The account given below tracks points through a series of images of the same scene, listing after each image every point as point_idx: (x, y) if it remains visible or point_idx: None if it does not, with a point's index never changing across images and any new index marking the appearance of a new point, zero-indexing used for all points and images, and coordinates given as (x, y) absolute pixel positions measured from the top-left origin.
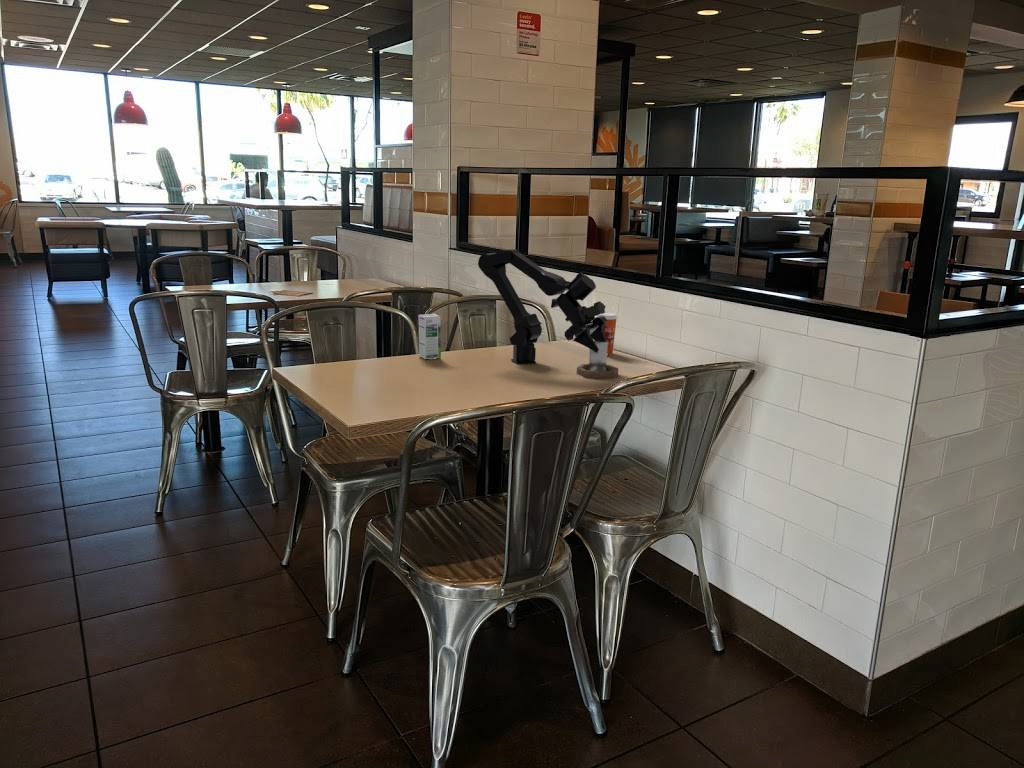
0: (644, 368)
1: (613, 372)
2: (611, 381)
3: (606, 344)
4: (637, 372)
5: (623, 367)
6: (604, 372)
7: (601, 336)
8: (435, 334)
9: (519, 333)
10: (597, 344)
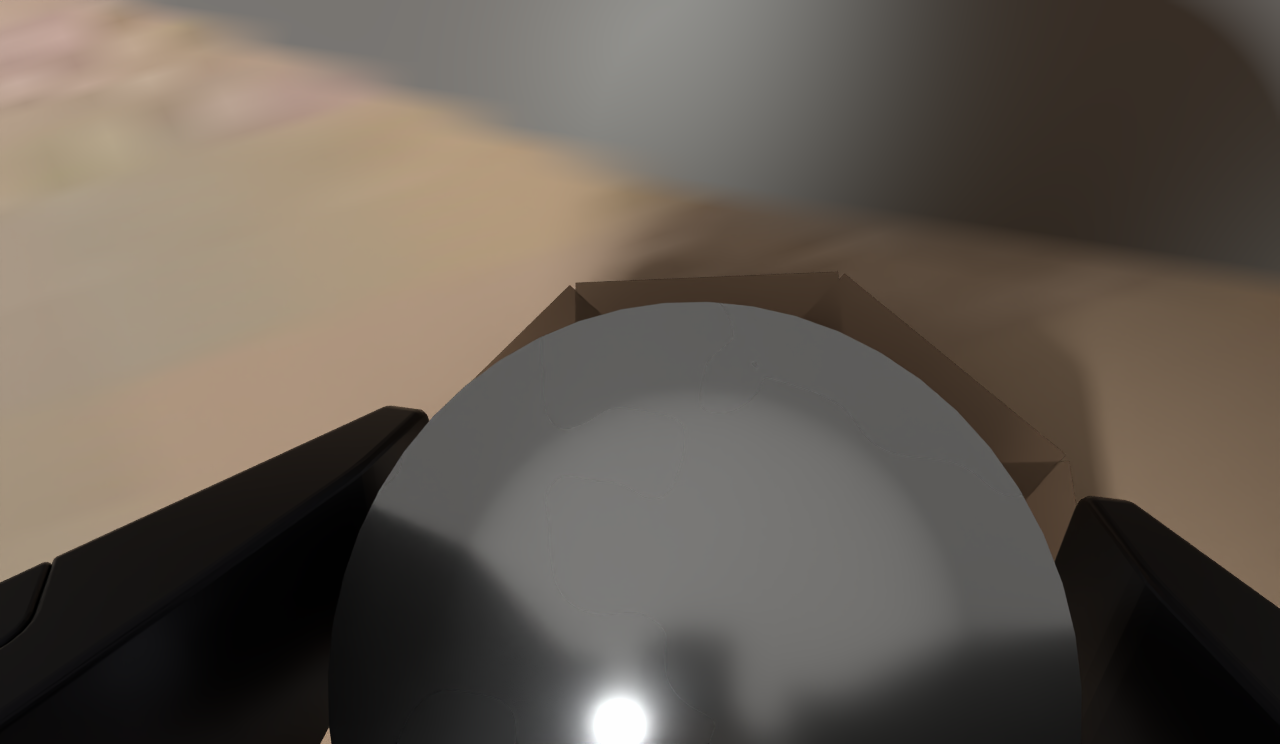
0: (42, 142)
1: (841, 281)
2: (1047, 265)
3: (748, 319)
4: (316, 144)
5: (79, 403)
6: (984, 388)
7: (129, 719)
8: None
9: None
10: (1057, 580)
